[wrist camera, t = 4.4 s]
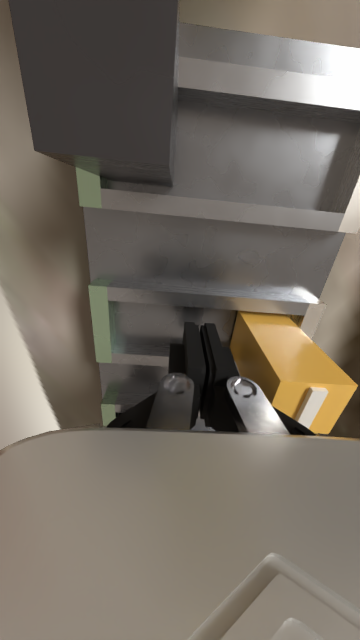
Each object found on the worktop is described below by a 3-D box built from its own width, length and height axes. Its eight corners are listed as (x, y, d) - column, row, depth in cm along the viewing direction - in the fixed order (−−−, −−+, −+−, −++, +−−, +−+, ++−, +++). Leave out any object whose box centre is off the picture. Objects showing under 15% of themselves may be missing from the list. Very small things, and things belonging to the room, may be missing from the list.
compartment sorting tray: (252, 436, 22) (288, 545, 15) (111, 429, 21) (78, 541, 14) (385, 76, 10) (868, -224, 3) (78, 33, 9) (-220, -494, 2)
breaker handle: (272, 350, 15) (331, 438, 9) (229, 347, 15) (262, 434, 9) (284, 313, 14) (361, 389, 8) (238, 309, 14) (283, 384, 8)
